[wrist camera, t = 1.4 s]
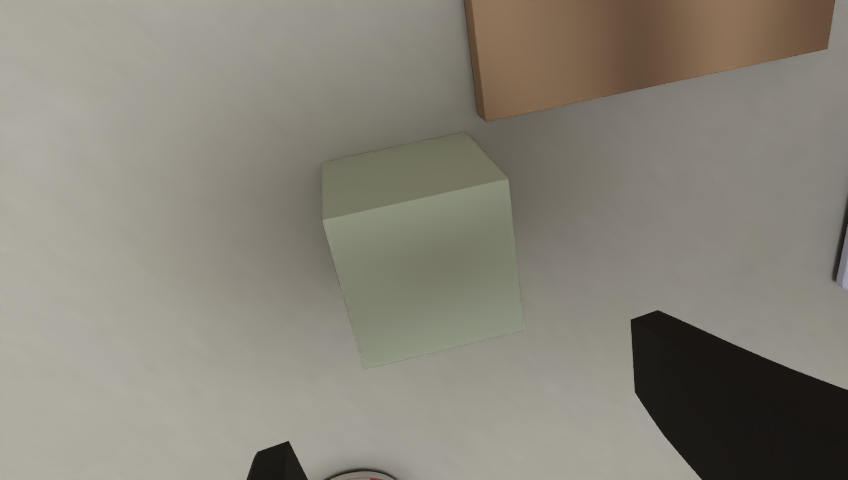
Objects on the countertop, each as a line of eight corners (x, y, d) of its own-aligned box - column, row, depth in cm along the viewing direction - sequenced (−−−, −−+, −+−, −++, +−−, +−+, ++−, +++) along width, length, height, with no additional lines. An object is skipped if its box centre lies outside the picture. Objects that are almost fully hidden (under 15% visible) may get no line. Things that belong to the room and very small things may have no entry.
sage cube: (464, 130, 19) (508, 178, 15) (482, 256, 21) (524, 330, 17) (321, 161, 19) (322, 220, 14) (354, 285, 21) (364, 369, 17)
